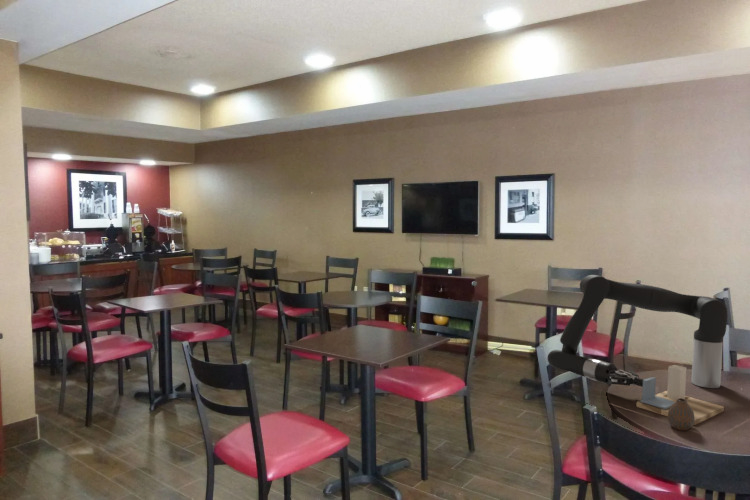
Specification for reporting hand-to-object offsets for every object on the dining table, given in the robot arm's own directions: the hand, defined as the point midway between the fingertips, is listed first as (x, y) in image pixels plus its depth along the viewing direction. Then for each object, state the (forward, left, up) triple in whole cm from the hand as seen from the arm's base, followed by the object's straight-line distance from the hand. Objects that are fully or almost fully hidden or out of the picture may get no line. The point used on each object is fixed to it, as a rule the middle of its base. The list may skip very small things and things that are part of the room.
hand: (647, 384), depth 172 cm
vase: (+9, +15, -8) cm, 19 cm away
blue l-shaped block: (0, +4, -5) cm, 7 cm away
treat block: (-12, +4, -7) cm, 14 cm away
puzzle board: (-6, +8, -8) cm, 12 cm away
